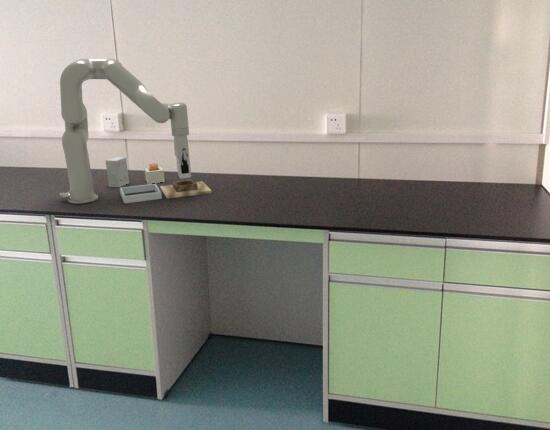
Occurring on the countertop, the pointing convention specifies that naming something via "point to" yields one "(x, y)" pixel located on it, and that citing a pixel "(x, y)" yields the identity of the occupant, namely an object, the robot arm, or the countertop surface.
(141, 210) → the countertop surface
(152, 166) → the button
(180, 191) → the plate
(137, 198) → the tote tray
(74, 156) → the robot arm
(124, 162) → the small box
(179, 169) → the block
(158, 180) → the button post
